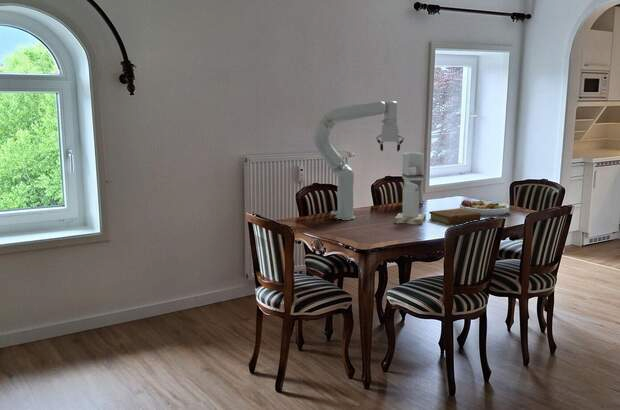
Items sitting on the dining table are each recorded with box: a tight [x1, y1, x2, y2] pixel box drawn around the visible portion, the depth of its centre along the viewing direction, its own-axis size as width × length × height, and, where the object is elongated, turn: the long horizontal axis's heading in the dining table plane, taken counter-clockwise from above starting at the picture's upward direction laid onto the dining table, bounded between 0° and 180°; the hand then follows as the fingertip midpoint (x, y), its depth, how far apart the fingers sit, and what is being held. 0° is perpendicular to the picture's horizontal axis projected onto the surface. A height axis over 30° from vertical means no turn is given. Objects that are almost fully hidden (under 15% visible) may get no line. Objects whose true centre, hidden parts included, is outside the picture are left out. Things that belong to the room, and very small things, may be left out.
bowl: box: [459, 199, 510, 217], centre depth 384 cm, size 30×30×8 cm
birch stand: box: [394, 212, 427, 225], centre depth 360 cm, size 16×16×3 cm
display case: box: [401, 152, 425, 208], centre depth 409 cm, size 11×11×35 cm
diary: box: [428, 207, 482, 227], centre depth 359 cm, size 23×19×6 cm
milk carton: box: [401, 184, 420, 218], centre depth 358 cm, size 7×7×19 cm
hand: (390, 151), depth 365 cm, fingers open, 9 cm apart
